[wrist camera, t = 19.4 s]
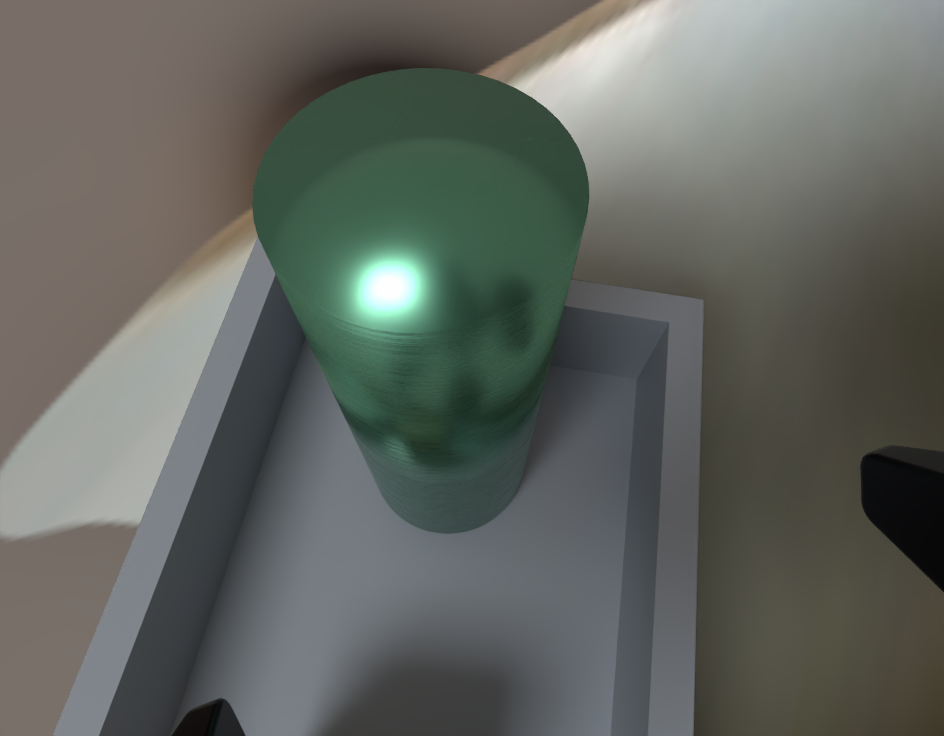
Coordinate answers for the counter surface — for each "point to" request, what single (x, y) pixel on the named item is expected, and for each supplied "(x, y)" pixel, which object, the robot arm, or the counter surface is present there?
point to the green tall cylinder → (428, 274)
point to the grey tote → (415, 552)
